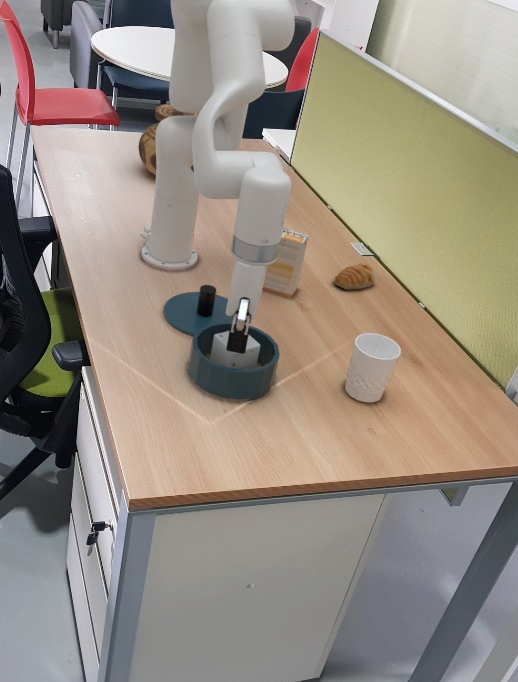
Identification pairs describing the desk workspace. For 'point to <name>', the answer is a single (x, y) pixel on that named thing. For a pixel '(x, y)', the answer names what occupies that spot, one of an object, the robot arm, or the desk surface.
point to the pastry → (355, 277)
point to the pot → (229, 379)
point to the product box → (234, 353)
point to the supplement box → (287, 263)
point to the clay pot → (148, 137)
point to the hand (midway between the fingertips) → (238, 336)
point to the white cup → (371, 366)
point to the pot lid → (196, 310)
